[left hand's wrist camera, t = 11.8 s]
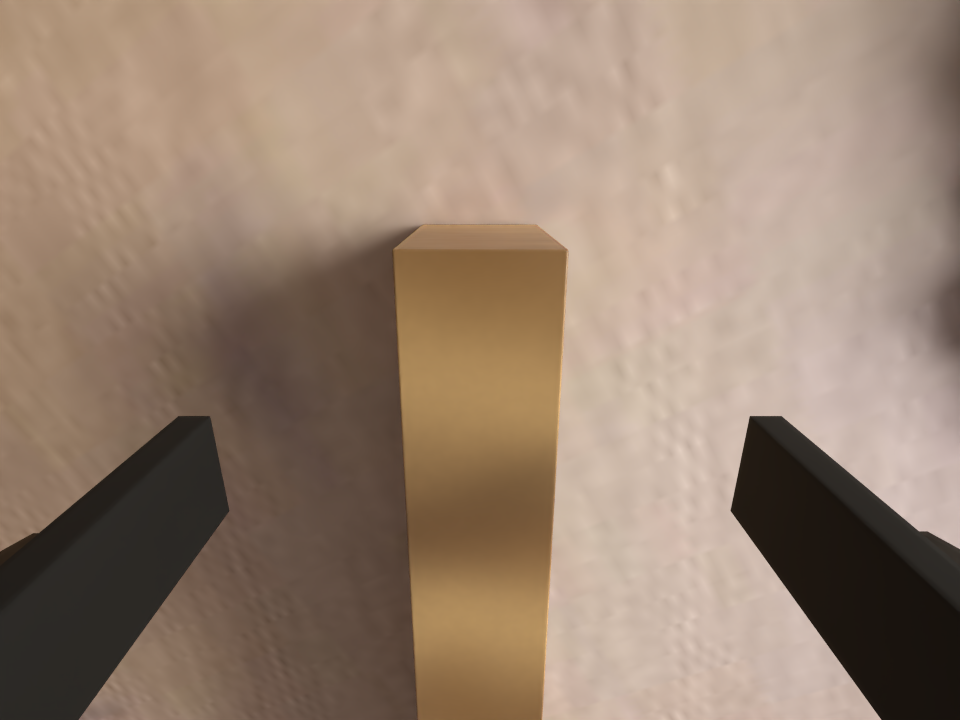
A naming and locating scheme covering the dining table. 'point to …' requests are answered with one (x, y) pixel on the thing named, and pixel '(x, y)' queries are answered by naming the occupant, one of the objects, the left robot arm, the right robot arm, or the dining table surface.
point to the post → (480, 460)
